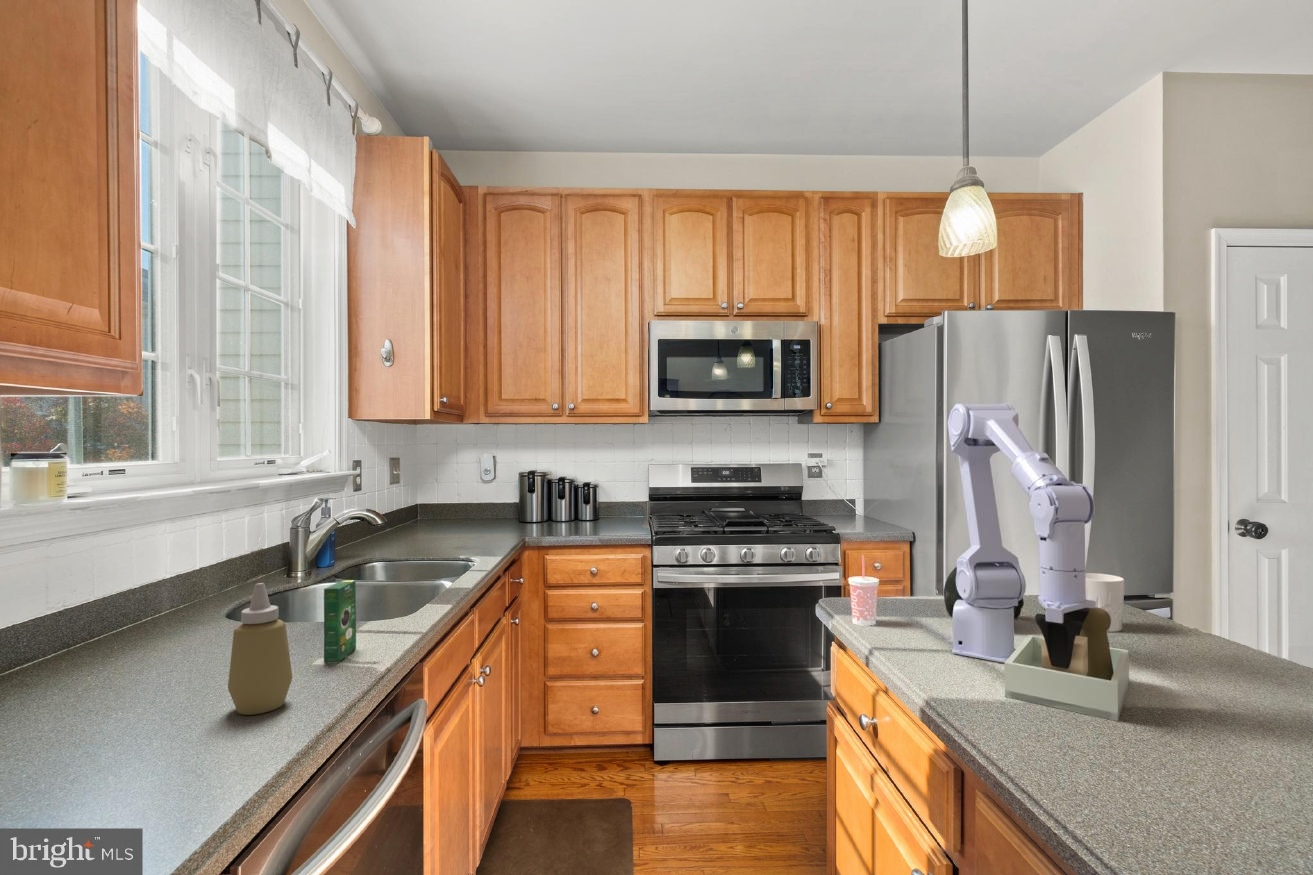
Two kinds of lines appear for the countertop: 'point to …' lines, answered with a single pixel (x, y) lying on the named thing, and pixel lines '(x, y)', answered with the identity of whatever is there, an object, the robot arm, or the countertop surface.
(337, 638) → the coffee box
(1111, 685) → the tote
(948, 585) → the squash
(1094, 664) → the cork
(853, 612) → the beverage cup
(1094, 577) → the white cup
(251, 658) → the squeeze bottle
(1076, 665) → the maple cube
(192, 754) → the countertop surface
